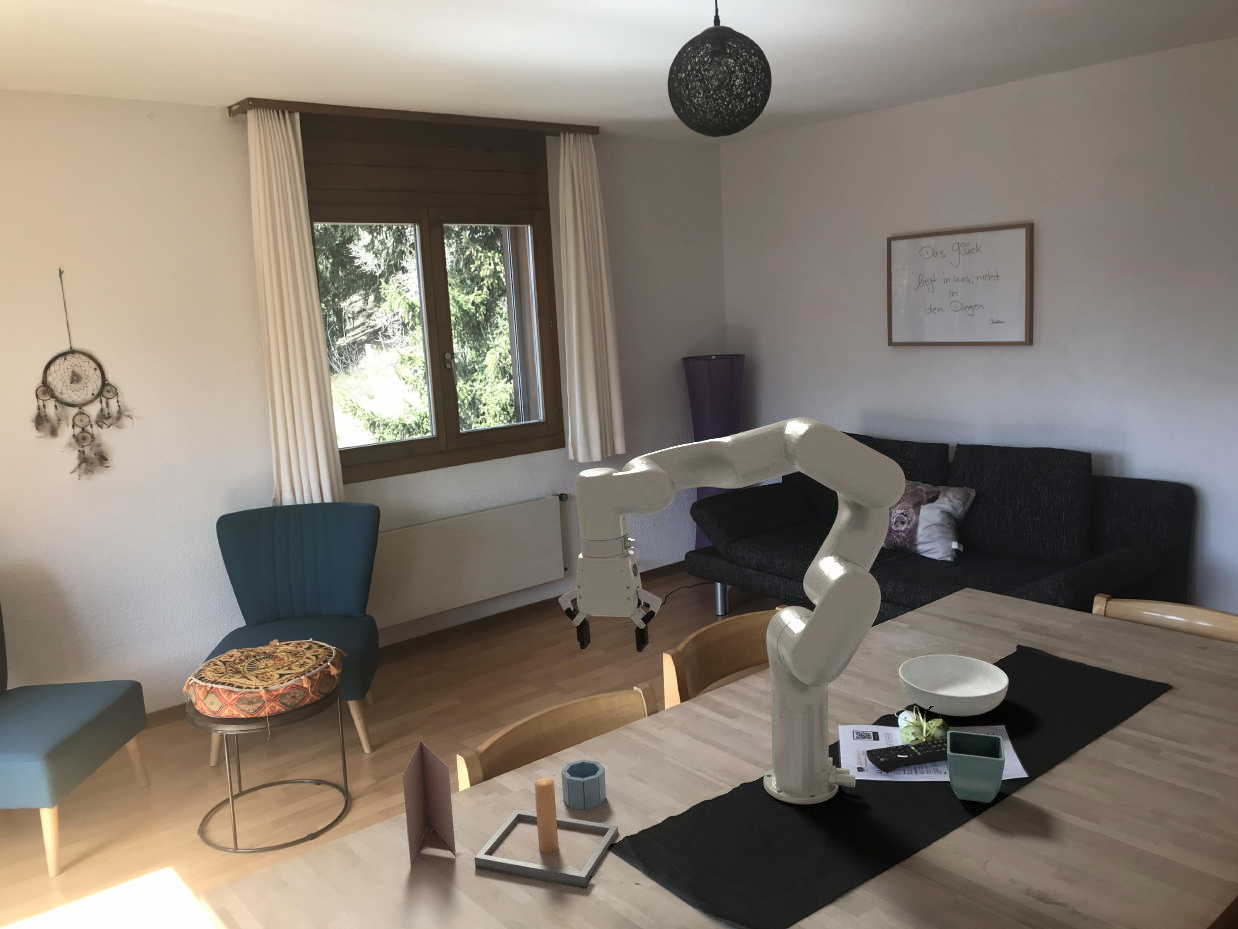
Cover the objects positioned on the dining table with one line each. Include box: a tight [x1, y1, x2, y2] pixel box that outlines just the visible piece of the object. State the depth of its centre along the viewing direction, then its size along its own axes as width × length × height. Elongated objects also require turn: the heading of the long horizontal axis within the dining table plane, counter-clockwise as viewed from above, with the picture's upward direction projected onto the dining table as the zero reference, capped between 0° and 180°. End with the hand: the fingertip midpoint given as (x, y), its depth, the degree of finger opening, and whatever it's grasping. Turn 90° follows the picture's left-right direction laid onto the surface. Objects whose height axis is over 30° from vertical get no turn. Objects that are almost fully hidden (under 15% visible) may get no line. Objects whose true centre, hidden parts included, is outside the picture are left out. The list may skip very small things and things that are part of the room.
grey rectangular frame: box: [474, 809, 619, 889], centre depth 146 cm, size 18×14×2 cm
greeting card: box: [401, 739, 457, 866], centre depth 149 cm, size 11×7×15 cm, turn 178°
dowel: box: [534, 777, 559, 854], centre depth 146 cm, size 3×3×11 cm
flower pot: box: [946, 730, 1006, 804], centre depth 157 cm, size 9×9×9 cm
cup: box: [561, 759, 607, 811], centre depth 160 cm, size 7×7×6 cm
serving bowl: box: [898, 654, 1010, 717], centre depth 191 cm, size 21×21×7 cm
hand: (613, 647), depth 154 cm, fingers open, 9 cm apart
